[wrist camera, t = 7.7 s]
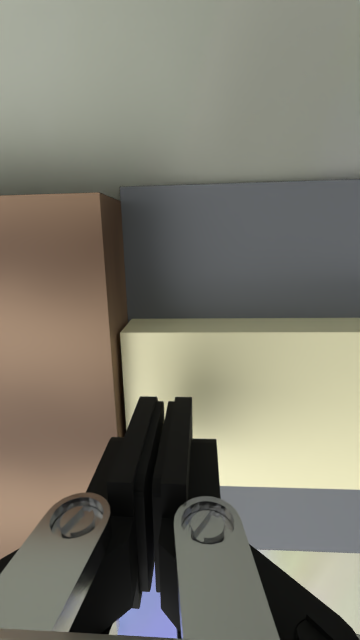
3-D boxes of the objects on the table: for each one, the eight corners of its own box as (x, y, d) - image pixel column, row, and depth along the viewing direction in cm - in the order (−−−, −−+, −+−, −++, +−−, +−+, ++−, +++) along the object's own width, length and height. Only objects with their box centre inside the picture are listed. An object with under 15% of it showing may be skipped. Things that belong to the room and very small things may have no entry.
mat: (121, 187, 13) (119, 186, 12) (522, 175, 12) (530, 173, 11) (142, 539, 17) (141, 544, 16) (445, 550, 16) (450, 556, 15)
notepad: (131, 318, 14) (120, 332, 12) (365, 317, 13) (394, 332, 11) (139, 451, 15) (129, 483, 13) (350, 455, 14) (373, 490, 12)
